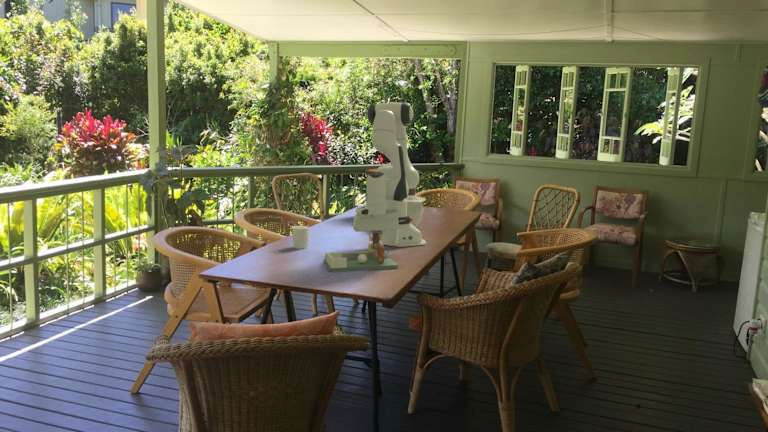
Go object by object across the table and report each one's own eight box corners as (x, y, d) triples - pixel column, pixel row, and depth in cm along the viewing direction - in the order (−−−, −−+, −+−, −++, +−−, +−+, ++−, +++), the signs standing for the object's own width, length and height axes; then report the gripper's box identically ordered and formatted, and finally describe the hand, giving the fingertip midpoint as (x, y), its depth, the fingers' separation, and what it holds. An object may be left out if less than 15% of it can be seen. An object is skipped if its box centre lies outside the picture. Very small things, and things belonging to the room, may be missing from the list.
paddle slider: (381, 255, 281) (381, 232, 279) (388, 262, 269) (389, 237, 267) (368, 256, 279) (368, 232, 278) (375, 262, 267) (375, 238, 265)
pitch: (387, 259, 283) (387, 247, 282) (397, 268, 266) (397, 255, 265) (323, 262, 275) (323, 250, 274) (330, 271, 259) (330, 258, 258)
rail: (387, 257, 281) (387, 250, 280) (388, 257, 279) (388, 251, 279) (325, 259, 274) (325, 253, 273) (325, 260, 272) (325, 253, 272)
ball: (365, 261, 271) (365, 252, 270) (367, 264, 267) (368, 254, 266) (356, 262, 270) (356, 253, 269) (358, 264, 266) (358, 255, 265)
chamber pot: (426, 231, 349) (427, 195, 346) (377, 231, 350) (377, 194, 346) (424, 223, 377) (425, 189, 374) (378, 222, 377) (379, 188, 374)
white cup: (297, 249, 300) (297, 229, 298) (289, 246, 306) (289, 226, 304) (311, 247, 305) (311, 227, 303) (303, 245, 311) (303, 225, 309)
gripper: (397, 207, 281) (396, 238, 283) (352, 209, 275) (352, 239, 278) (401, 210, 275) (400, 241, 277) (355, 211, 269) (355, 242, 272)
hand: (375, 240), depth 277 cm, fingers closed on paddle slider, 3 cm apart
